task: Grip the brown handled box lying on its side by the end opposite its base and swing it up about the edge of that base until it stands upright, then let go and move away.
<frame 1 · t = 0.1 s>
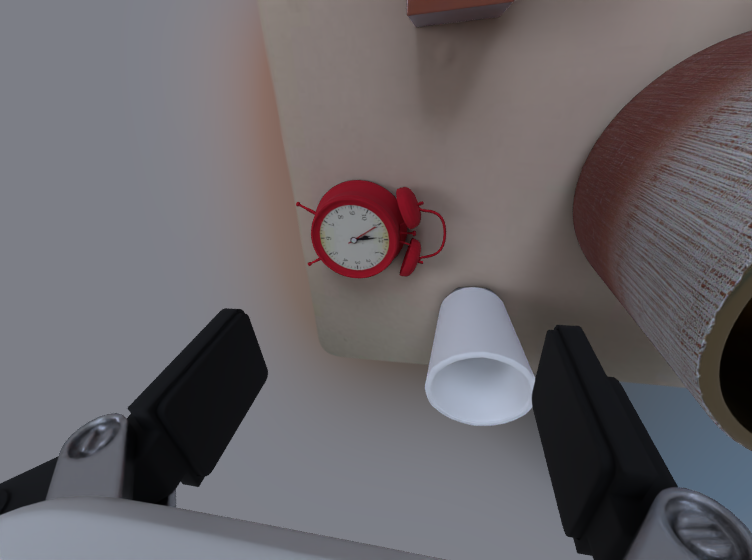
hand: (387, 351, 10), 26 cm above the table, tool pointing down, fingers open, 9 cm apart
planter: (706, 180, 29), on the table
alarm clock: (376, 224, 37), on the table
cup: (471, 308, 40), on the table
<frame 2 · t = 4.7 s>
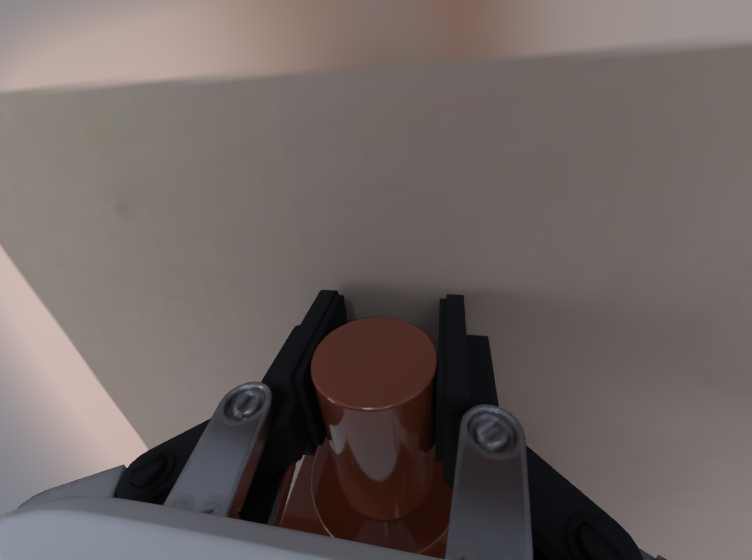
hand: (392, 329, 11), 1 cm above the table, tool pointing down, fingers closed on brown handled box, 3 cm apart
brown handled box: (420, 515, 12), point 3 cm above the table, hinge at 90.0°, touching gripper
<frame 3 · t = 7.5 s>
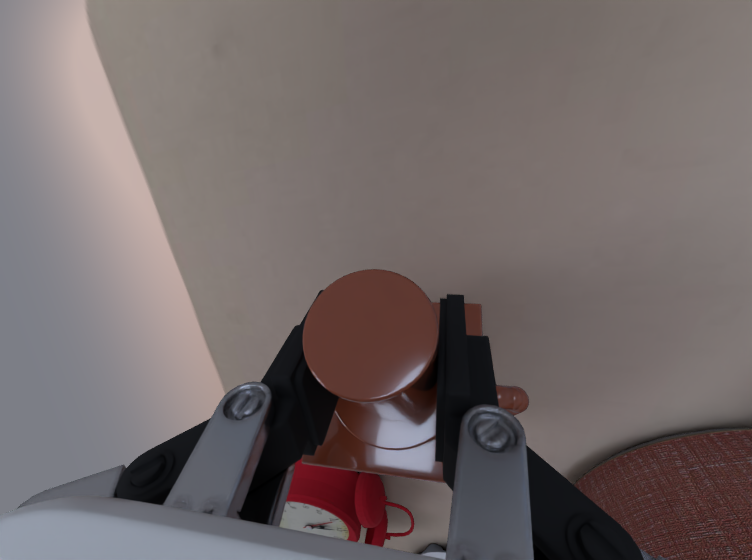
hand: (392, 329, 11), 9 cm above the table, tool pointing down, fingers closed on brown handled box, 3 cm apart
brown handled box: (426, 388, 14), point 7 cm above the table, hinge at 55.1°, touching gripper
planter: (708, 508, 25), on the table
alarm clock: (339, 484, 33), on the table
cup: (448, 557, 36), on the table
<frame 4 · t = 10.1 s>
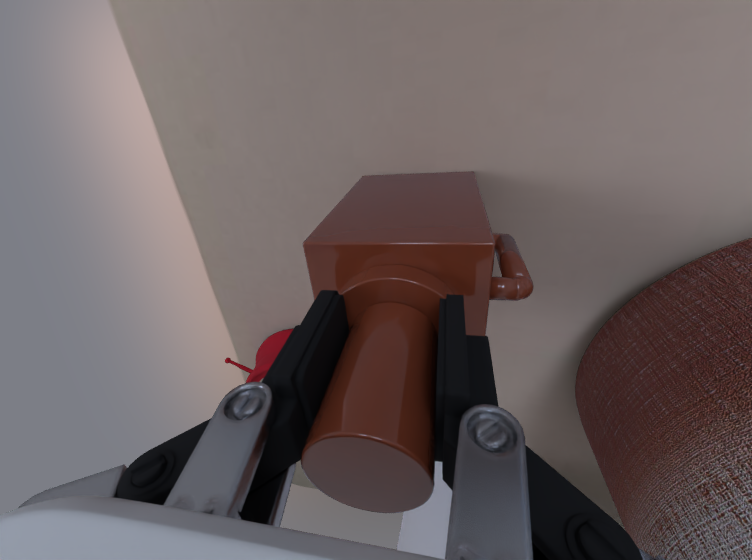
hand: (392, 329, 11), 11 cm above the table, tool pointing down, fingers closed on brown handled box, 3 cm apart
brown handled box: (428, 293, 14), point 8 cm above the table, hinge at 0.0°, touching gripper
planter: (751, 363, 22), on the table
alarm clock: (331, 370, 30), on the table
cup: (451, 458, 33), on the table
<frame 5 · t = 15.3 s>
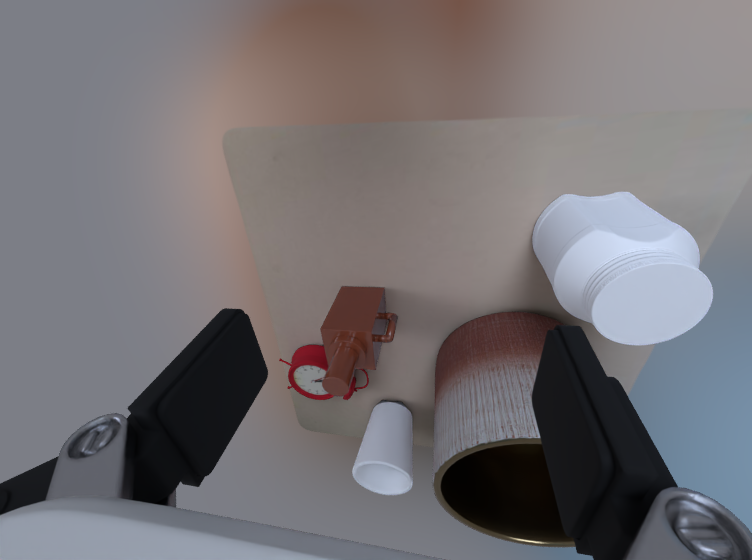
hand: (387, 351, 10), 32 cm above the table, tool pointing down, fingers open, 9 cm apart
brown handled box: (360, 340, 44), point 8 cm above the table, hinge at -0.1°
planter: (507, 361, 52), on the table
alarm clock: (329, 364, 60), on the table
cup: (393, 410, 63), on the table
jar: (584, 231, 39), on the table
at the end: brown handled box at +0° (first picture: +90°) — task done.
